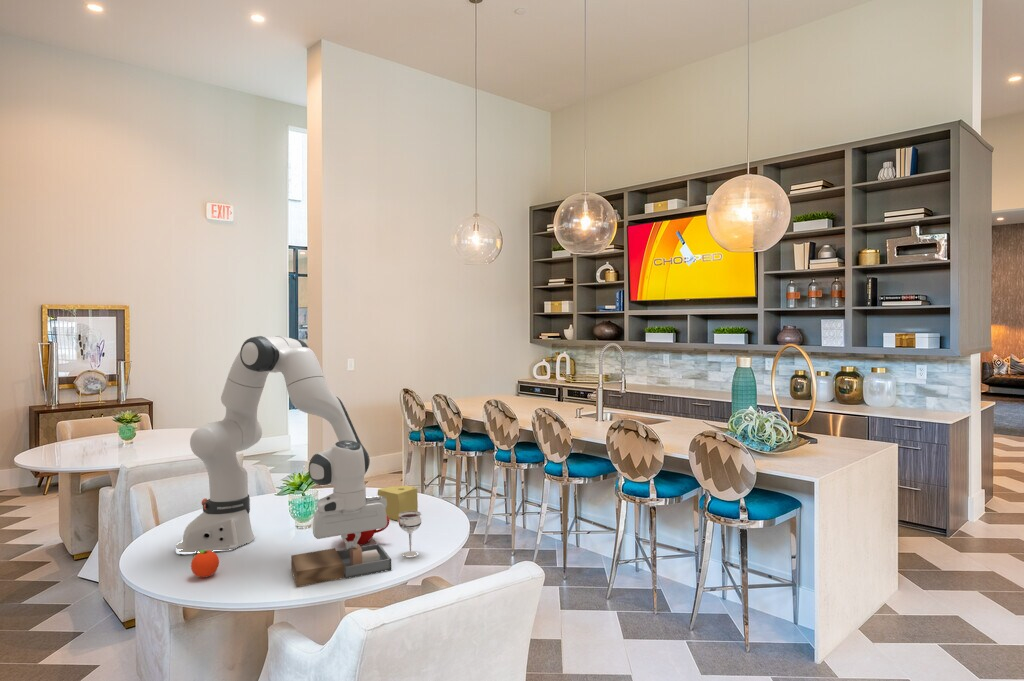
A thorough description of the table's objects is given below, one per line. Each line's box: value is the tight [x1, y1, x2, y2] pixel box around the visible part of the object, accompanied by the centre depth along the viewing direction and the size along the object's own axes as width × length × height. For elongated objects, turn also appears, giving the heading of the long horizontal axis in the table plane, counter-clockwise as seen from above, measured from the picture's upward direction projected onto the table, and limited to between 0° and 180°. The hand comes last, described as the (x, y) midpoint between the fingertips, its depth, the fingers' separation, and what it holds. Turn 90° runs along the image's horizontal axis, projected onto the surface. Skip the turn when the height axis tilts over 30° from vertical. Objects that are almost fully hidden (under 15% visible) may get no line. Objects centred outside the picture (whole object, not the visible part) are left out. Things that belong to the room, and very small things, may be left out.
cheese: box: [376, 484, 419, 522], centre depth 220 cm, size 10×11×10 cm
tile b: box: [350, 544, 362, 566], centre depth 173 cm, size 5×5×2 cm
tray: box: [336, 543, 392, 579], centre depth 174 cm, size 12×14×3 cm
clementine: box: [190, 550, 220, 578], centre depth 168 cm, size 8×7×7 cm
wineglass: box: [397, 511, 422, 556], centre depth 182 cm, size 7×7×12 cm
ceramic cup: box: [345, 516, 390, 546], centre depth 193 cm, size 13×17×10 cm
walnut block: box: [290, 547, 345, 588], centre depth 168 cm, size 12×13×4 cm
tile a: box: [362, 550, 380, 564], centre depth 175 cm, size 5×5×2 cm
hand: (351, 548), depth 172 cm, fingers closed, pressing on tile b
